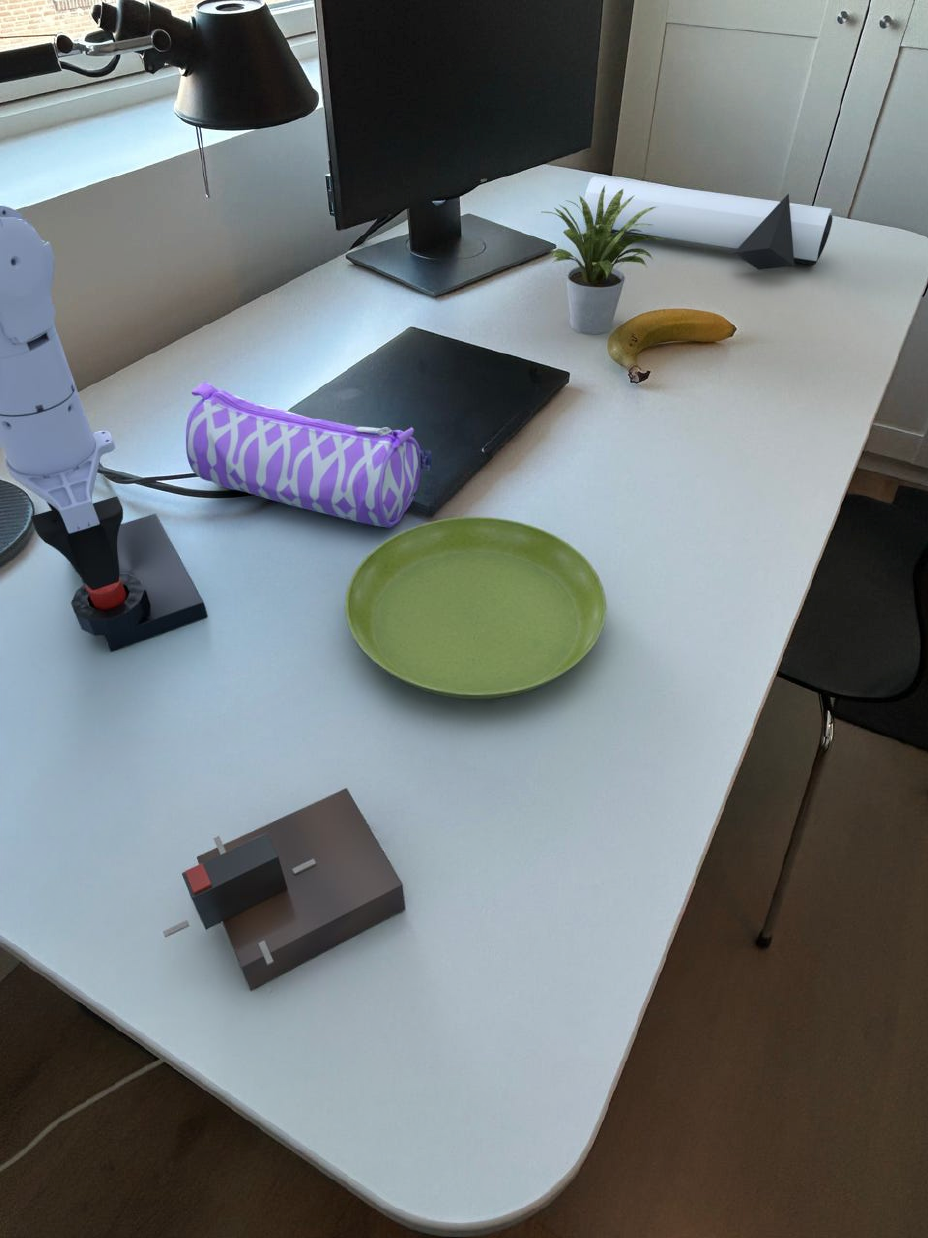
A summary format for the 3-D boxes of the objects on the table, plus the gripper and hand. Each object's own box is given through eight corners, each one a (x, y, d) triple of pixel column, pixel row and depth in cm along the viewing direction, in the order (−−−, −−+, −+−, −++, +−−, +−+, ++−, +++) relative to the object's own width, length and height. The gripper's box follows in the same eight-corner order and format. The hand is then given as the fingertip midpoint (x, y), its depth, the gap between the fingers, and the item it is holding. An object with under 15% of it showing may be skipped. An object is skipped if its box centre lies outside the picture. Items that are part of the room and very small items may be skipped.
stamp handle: (276, 865, 53) (265, 830, 50) (287, 889, 52) (277, 854, 49) (195, 905, 51) (180, 870, 48) (205, 930, 50) (190, 896, 47)
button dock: (209, 618, 73) (199, 587, 70) (94, 660, 69) (80, 628, 67) (160, 527, 82) (150, 496, 79) (56, 560, 78) (43, 529, 76)
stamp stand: (201, 1029, 49) (188, 1005, 47) (155, 897, 55) (141, 870, 52) (410, 917, 53) (407, 891, 51) (347, 807, 59) (342, 779, 57)
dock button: (130, 603, 70) (124, 586, 68) (96, 614, 69) (90, 598, 67) (121, 584, 71) (115, 567, 70) (89, 595, 70) (82, 578, 69)
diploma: (583, 251, 137) (562, 219, 124) (599, 190, 135) (580, 151, 123) (814, 290, 126) (817, 259, 113) (835, 224, 124) (840, 184, 112)
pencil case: (435, 492, 85) (431, 406, 79) (398, 550, 79) (391, 461, 72) (235, 452, 91) (216, 368, 84) (185, 502, 84) (161, 416, 78)
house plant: (561, 364, 104) (572, 221, 92) (509, 317, 113) (513, 181, 102) (663, 340, 108) (685, 200, 97) (605, 296, 117) (619, 164, 106)
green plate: (312, 696, 66) (307, 667, 64) (390, 531, 81) (387, 502, 79) (585, 743, 63) (589, 714, 61) (615, 562, 77) (619, 533, 75)
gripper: (119, 427, 54) (171, 591, 64) (68, 335, 63) (121, 490, 73) (-2, 460, 52) (72, 626, 61) (-37, 359, 61) (32, 517, 70)
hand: (92, 554), depth 67 cm, fingers open, 7 cm apart
